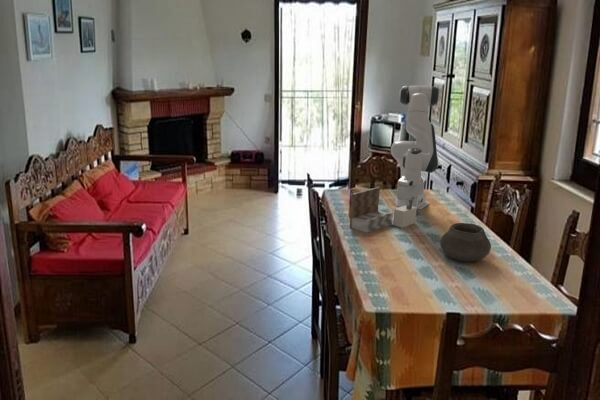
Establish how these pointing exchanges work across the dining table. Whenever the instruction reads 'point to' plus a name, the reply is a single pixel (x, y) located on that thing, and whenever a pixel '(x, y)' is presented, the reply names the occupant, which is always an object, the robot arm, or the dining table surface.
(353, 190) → the candy box
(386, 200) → the dining table surface
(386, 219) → the wood-topped platform
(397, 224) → the cabinet
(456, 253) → the clay pot
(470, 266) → the dining table surface
